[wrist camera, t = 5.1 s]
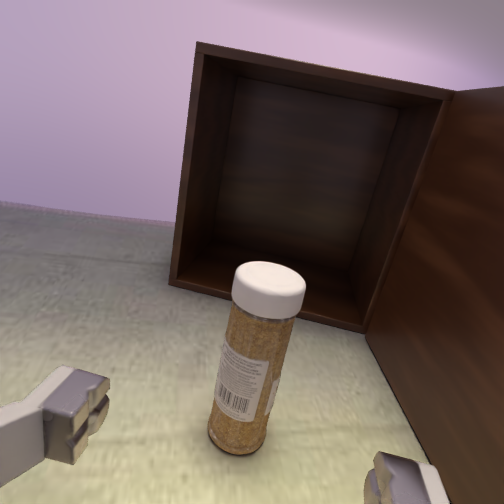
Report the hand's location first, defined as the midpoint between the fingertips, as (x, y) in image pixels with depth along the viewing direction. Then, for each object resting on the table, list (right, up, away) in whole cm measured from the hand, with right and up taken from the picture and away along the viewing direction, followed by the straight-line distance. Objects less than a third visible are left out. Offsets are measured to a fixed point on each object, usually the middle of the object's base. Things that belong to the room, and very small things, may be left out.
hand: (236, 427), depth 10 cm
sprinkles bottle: (-1, -9, +16) cm, 19 cm away
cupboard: (+4, +1, +42) cm, 42 cm away
